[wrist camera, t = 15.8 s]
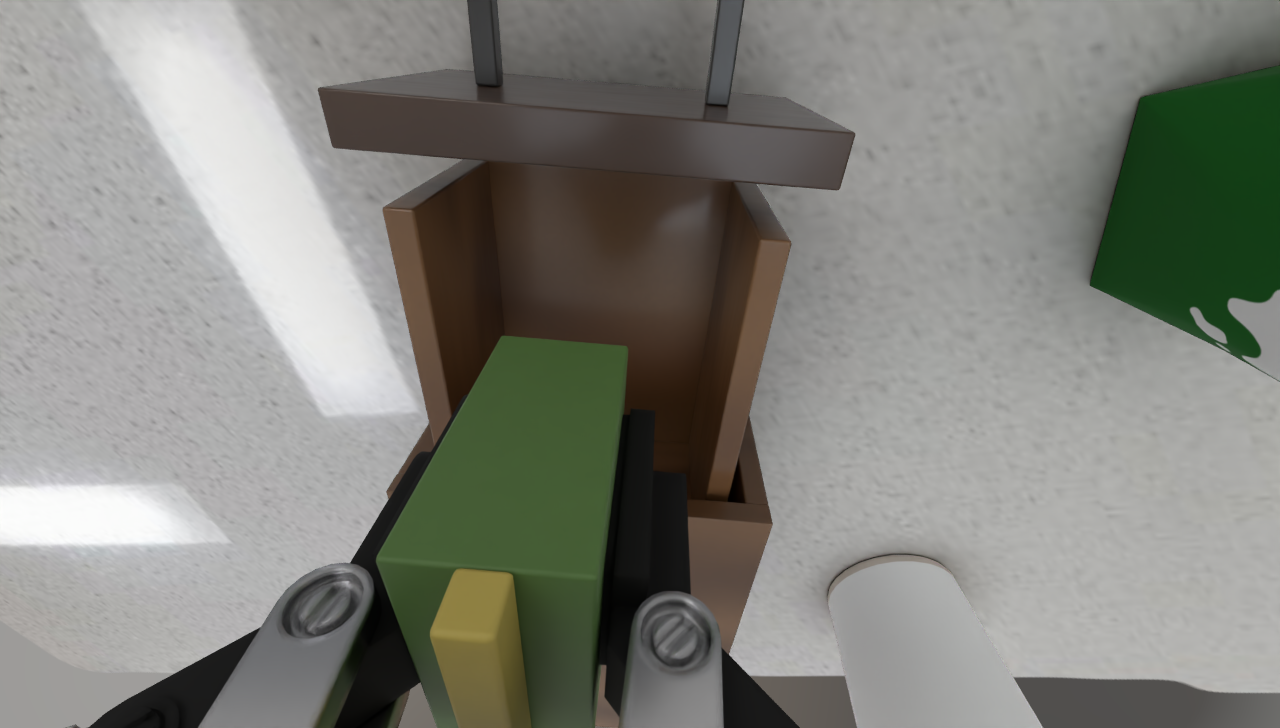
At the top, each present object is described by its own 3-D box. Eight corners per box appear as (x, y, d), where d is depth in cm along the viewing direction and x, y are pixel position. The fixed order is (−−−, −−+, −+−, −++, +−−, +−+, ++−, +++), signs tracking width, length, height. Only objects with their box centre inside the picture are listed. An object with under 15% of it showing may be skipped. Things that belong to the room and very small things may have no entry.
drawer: (407, -233, 13) (169, -481, 7) (848, -197, 13) (1013, -411, 7) (491, 423, 25) (434, 547, 19) (715, 442, 25) (730, 572, 19)
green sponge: (518, 515, 13) (426, 811, 8) (500, 331, 10) (330, 626, 5) (616, 523, 13) (584, 824, 8) (628, 343, 10) (589, 648, 5)
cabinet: (476, 345, 24) (385, 491, 16) (739, 367, 24) (773, 524, 16) (505, 557, 33) (456, 714, 25) (694, 573, 33) (701, 735, 25)
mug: (791, 598, 34) (833, 790, 25) (894, 529, 29) (987, 733, 21) (904, 649, 37) (976, 836, 28) (1012, 593, 32) (1138, 795, 24)
